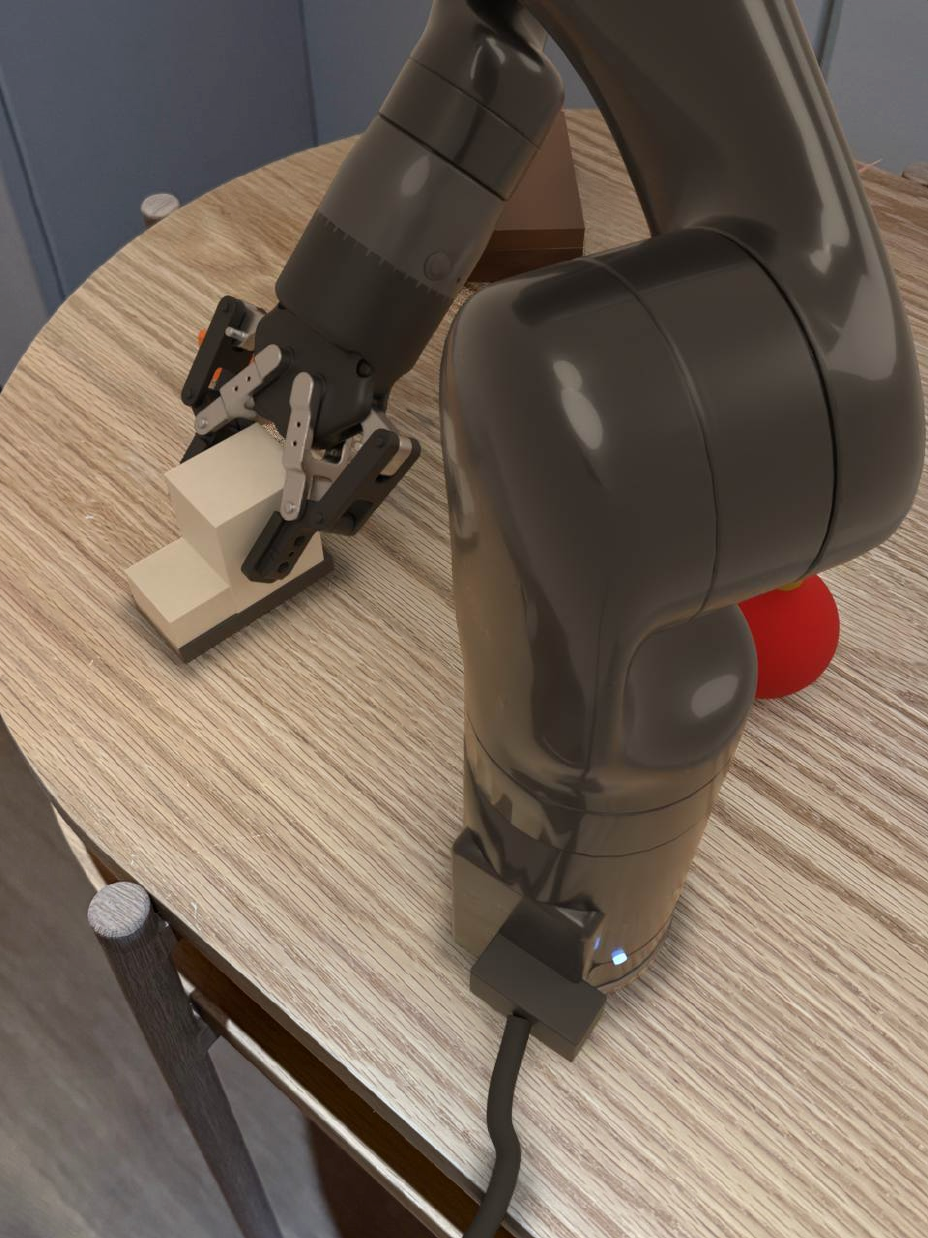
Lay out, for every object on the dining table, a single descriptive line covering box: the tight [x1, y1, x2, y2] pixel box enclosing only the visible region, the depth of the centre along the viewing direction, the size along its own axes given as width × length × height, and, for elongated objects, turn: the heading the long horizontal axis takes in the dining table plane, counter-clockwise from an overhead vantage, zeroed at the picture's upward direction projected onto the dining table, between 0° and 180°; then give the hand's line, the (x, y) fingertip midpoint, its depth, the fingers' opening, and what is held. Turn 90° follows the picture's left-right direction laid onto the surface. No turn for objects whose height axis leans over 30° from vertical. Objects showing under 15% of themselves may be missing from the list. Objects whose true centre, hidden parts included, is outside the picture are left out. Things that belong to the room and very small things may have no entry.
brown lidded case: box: [465, 110, 586, 283], centre depth 80 cm, size 11×14×4 cm
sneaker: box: [123, 422, 335, 664], centre depth 59 cm, size 10×5×8 cm, turn 131°
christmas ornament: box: [737, 574, 841, 700], centre depth 55 cm, size 7×7×10 cm
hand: (220, 538), depth 58 cm, fingers open, 6 cm apart
